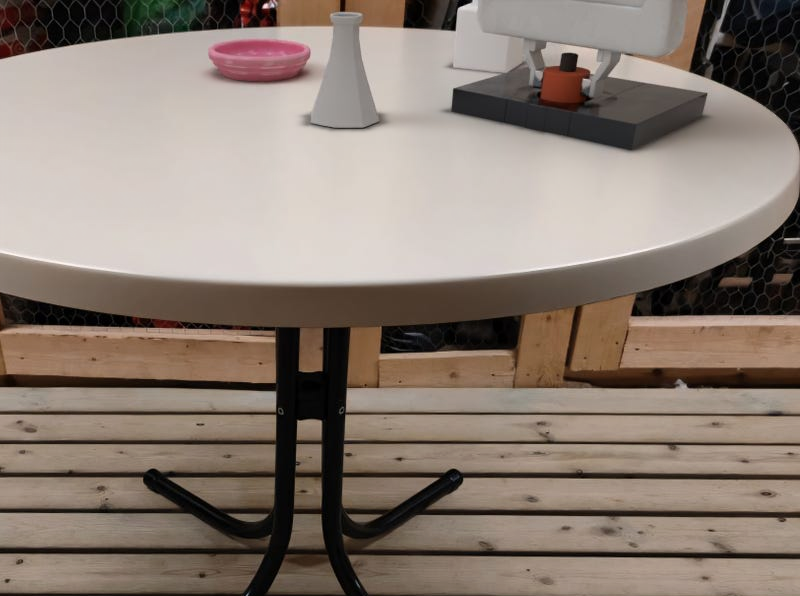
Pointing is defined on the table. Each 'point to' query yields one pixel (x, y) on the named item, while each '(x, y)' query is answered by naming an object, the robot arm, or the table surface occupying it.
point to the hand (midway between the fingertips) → (563, 92)
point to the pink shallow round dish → (259, 59)
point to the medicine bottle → (483, 45)
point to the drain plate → (583, 109)
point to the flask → (345, 80)
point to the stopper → (564, 80)
